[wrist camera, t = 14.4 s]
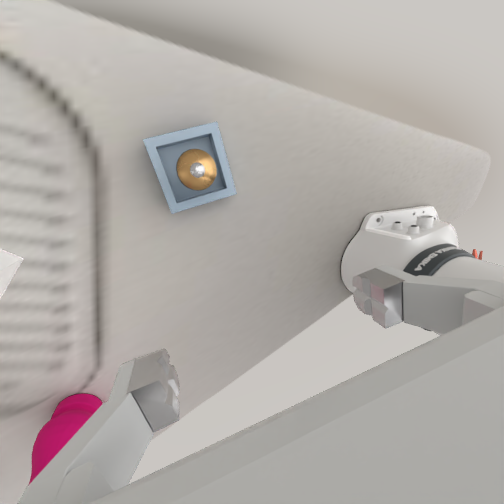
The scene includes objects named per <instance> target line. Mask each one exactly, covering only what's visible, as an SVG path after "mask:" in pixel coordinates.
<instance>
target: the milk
mask: <svg viewBox="0 0 504 504" xmlns="http://www.w3.org/2000/svg"><path fill="white" fill-rule="evenodd" d="M23 259H24V258H22V257H20V256H17V255H15V254H12V253H10V252H7V251H5V250H2V249H0V299H1V297H2V296H3V294H4V292H5V290H6V289H7V287H8V285H9V283H10V282H11V280H12V278H13V276H14V275H15V273H16V271H17V269H18V268H19V266H20V264H21V262H22V261H23Z"/></svg>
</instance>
